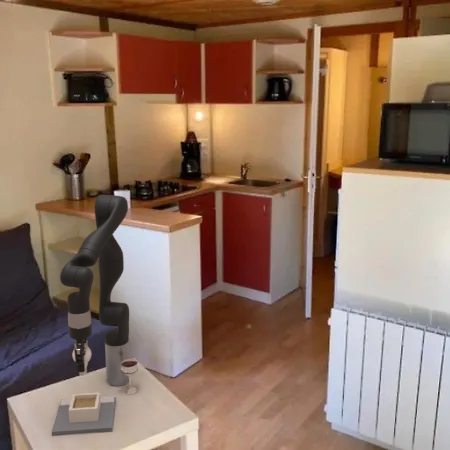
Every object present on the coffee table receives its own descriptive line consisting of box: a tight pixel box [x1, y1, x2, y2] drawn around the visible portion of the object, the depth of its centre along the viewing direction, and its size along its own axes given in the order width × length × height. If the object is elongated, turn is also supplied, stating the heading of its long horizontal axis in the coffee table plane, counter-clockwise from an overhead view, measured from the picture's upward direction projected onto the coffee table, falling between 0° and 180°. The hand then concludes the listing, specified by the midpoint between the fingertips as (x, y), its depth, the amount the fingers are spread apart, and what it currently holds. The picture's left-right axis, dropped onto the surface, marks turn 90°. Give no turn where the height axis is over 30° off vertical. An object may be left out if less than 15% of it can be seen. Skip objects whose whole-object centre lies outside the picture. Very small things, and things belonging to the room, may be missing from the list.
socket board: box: [51, 392, 117, 436], centre depth 183 cm, size 18×20×6 cm
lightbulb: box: [72, 345, 92, 376], centre depth 178 cm, size 6×6×11 cm
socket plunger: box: [74, 398, 96, 408], centre depth 183 cm, size 7×7×2 cm
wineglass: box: [120, 357, 139, 395], centre depth 198 cm, size 7×7×12 cm
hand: (82, 366), depth 179 cm, fingers closed on lightbulb, 6 cm apart
